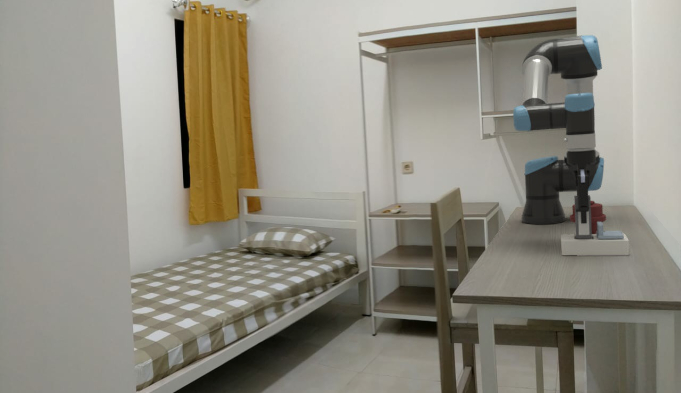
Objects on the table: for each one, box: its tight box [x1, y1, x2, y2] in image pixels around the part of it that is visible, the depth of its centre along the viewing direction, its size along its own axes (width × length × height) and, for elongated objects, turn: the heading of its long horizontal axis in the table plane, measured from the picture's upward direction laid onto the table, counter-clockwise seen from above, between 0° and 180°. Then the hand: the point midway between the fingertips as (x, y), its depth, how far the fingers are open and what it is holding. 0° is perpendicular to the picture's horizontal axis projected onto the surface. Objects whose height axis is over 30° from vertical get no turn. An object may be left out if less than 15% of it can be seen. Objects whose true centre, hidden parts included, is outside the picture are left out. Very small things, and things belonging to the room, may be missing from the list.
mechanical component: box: [569, 200, 607, 234], centre depth 185 cm, size 12×10×10 cm
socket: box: [560, 233, 630, 256], centre depth 173 cm, size 10×17×4 cm, turn 71°
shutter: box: [596, 222, 624, 239], centre depth 171 cm, size 7×6×4 cm
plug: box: [573, 194, 592, 239], centre depth 172 cm, size 4×4×14 cm
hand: (583, 232), depth 173 cm, fingers closed on plug, 4 cm apart
